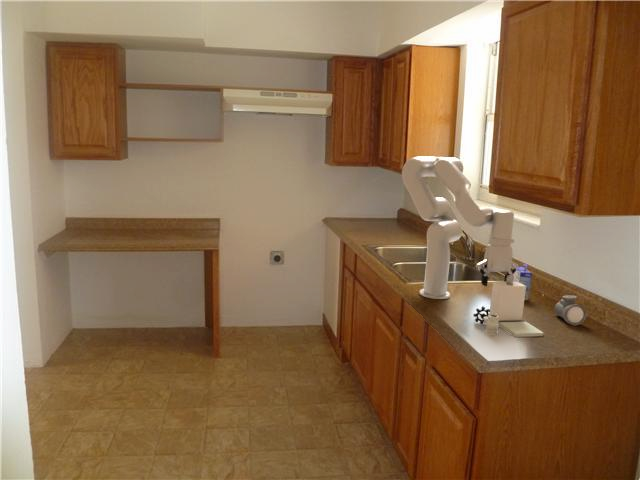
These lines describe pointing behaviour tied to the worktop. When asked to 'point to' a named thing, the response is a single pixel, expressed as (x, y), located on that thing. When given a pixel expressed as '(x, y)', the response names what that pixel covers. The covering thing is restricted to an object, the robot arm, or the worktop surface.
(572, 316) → the pipe fitting
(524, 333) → the pad
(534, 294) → the worktop surface
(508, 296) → the pump housing
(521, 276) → the ink cartridge box
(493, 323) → the valve
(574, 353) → the worktop surface
